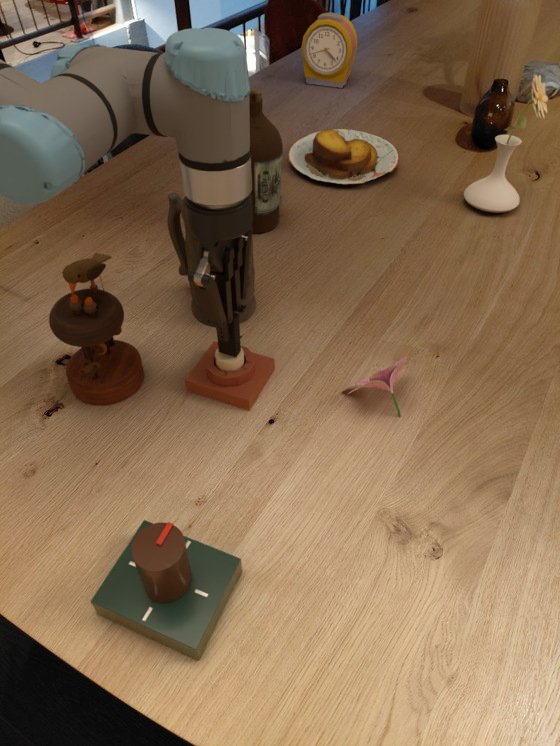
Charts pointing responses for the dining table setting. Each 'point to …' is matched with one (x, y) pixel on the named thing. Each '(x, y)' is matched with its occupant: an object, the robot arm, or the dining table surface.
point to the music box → (95, 338)
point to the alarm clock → (329, 48)
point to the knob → (162, 562)
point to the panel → (178, 618)
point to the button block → (231, 378)
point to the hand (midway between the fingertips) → (229, 351)
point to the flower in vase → (505, 163)
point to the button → (229, 361)
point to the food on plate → (343, 156)
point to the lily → (384, 378)
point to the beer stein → (190, 260)
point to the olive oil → (264, 166)
